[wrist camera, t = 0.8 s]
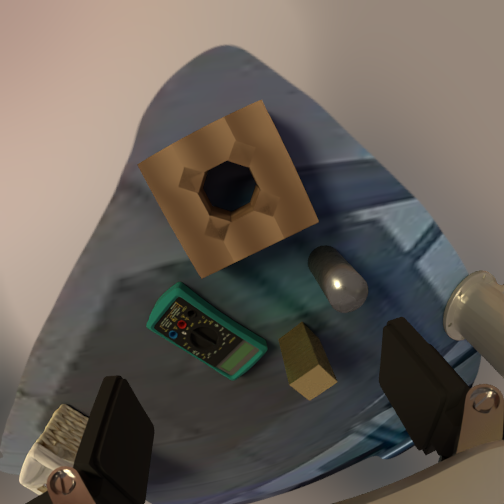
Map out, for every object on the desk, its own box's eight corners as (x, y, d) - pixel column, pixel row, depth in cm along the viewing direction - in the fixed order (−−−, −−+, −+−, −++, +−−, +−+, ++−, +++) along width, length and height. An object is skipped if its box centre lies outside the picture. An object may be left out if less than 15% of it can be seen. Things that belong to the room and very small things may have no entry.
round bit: (332, 239, 36) (361, 267, 27) (343, 267, 37) (372, 300, 29) (302, 254, 36) (323, 286, 28) (315, 281, 38) (336, 319, 29)
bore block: (257, 106, 31) (261, 99, 26) (307, 211, 35) (319, 221, 30) (150, 162, 32) (137, 164, 27) (205, 261, 36) (201, 278, 31)
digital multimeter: (176, 275, 37) (172, 286, 34) (268, 339, 40) (270, 352, 38) (145, 315, 38) (140, 327, 35) (234, 371, 42) (234, 385, 39)
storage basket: (96, 472, 51) (83, 519, 37) (37, 437, 47) (16, 482, 33) (134, 438, 46) (119, 501, 32) (58, 392, 42) (27, 452, 28)
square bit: (302, 321, 39) (318, 364, 31) (319, 338, 41) (337, 382, 32) (278, 339, 40) (289, 384, 32) (296, 355, 41) (309, 400, 33)
